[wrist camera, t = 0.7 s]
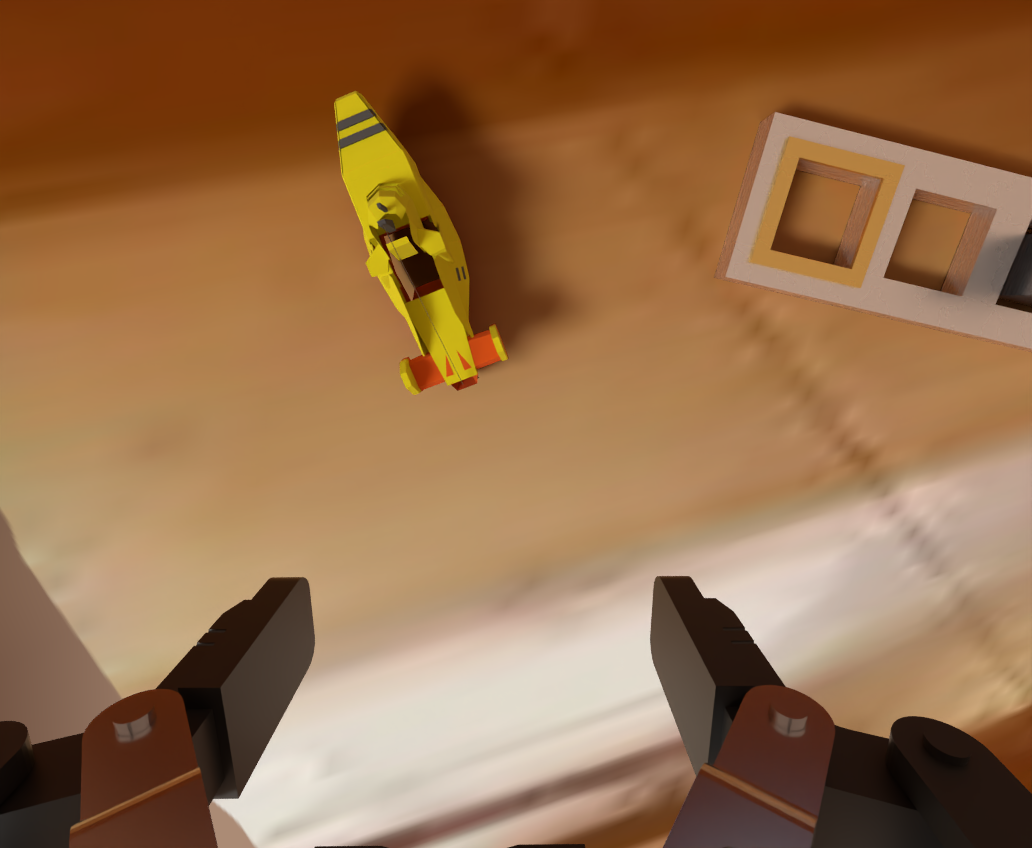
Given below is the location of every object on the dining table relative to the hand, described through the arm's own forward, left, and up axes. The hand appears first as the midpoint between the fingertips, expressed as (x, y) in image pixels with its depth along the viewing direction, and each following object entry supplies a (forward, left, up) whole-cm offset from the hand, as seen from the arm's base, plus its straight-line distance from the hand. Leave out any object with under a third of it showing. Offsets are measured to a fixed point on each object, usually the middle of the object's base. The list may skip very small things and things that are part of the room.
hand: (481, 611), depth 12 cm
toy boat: (-8, -7, -28) cm, 30 cm away
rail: (-16, +26, -27) cm, 41 cm away
